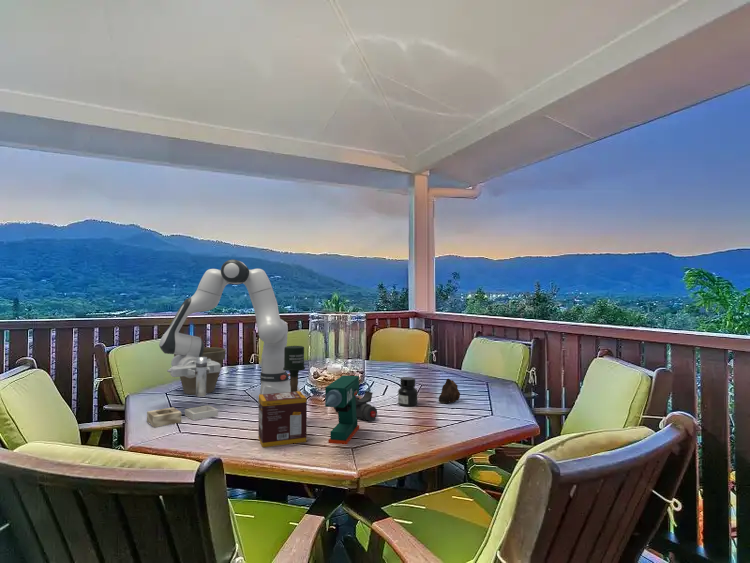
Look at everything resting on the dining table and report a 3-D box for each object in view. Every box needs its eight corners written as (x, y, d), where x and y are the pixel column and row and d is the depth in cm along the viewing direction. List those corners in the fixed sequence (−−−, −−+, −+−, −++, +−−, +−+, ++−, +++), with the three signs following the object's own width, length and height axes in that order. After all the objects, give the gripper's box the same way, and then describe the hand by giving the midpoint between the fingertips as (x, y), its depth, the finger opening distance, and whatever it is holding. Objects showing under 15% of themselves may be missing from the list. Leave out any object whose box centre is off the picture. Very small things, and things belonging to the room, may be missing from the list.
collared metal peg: (208, 394, 186) (209, 356, 186) (201, 397, 182) (202, 358, 182) (200, 394, 188) (200, 356, 188) (192, 396, 183) (193, 357, 184)
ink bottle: (395, 402, 207) (395, 377, 207) (412, 401, 210) (412, 375, 210) (402, 407, 198) (402, 381, 198) (420, 406, 201) (420, 379, 201)
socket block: (173, 416, 183) (173, 407, 183) (181, 422, 175) (181, 412, 175) (146, 421, 176) (147, 411, 176) (154, 427, 168) (154, 417, 169)
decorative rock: (452, 398, 215) (452, 376, 215) (462, 401, 211) (462, 378, 211) (436, 402, 207) (436, 379, 207) (446, 405, 203) (446, 381, 203)
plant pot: (213, 384, 245) (214, 345, 246) (233, 392, 227) (233, 349, 228) (166, 391, 229) (167, 349, 229) (183, 400, 210) (184, 354, 211)
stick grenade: (286, 426, 170) (287, 348, 171) (280, 420, 178) (280, 346, 178) (307, 423, 174) (308, 347, 175) (300, 417, 182) (301, 345, 182)
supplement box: (257, 438, 157) (258, 394, 157) (300, 433, 163) (300, 390, 163) (261, 447, 147) (262, 401, 148) (306, 442, 153) (307, 397, 154)
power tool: (336, 459, 138) (337, 395, 138) (315, 457, 139) (315, 393, 139) (360, 428, 169) (360, 375, 169) (342, 426, 170) (343, 374, 171)
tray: (208, 411, 192) (208, 405, 192) (217, 415, 184) (217, 409, 184) (184, 415, 185) (184, 409, 185) (193, 420, 177) (193, 414, 178)
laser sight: (346, 408, 197) (346, 386, 197) (382, 419, 181) (382, 395, 181) (329, 413, 190) (329, 389, 190) (364, 424, 174) (365, 399, 174)
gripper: (165, 362, 188) (176, 367, 177) (213, 358, 201) (225, 362, 191) (165, 377, 188) (176, 383, 177) (213, 372, 201) (225, 376, 191)
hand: (202, 372), depth 184 cm, fingers closed on collared metal peg, 4 cm apart
